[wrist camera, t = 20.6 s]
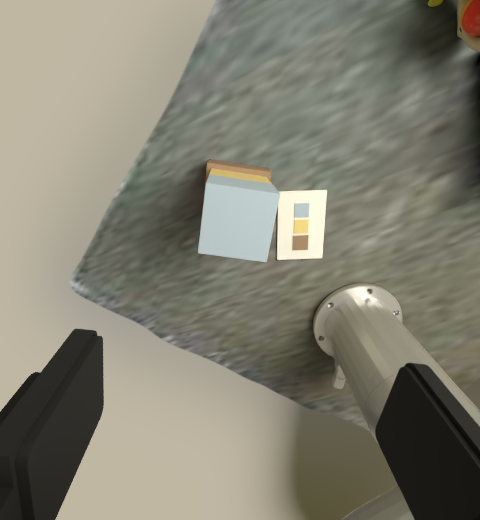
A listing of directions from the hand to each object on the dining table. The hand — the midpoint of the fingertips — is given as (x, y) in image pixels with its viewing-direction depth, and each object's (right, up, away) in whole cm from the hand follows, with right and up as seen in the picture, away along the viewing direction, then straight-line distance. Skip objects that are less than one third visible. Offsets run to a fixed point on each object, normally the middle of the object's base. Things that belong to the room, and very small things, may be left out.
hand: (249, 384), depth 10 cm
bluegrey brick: (-1, +9, +22) cm, 23 cm away
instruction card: (+7, +8, +32) cm, 34 cm away
